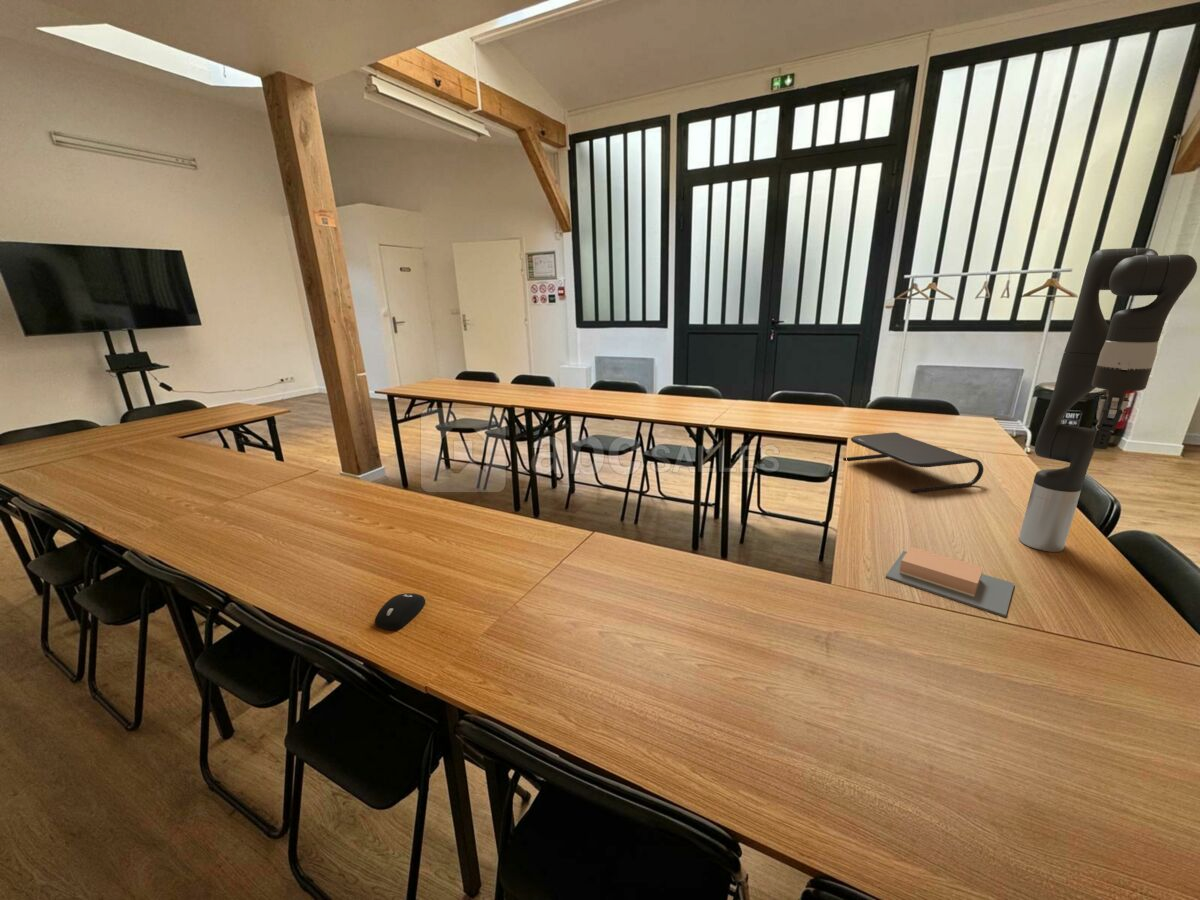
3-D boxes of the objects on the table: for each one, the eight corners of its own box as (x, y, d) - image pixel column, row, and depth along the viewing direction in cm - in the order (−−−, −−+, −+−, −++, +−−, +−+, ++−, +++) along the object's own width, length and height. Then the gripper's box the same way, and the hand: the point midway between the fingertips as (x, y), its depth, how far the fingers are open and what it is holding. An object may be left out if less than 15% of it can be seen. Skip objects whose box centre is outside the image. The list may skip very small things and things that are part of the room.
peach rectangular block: (980, 580, 114) (908, 558, 124) (983, 567, 113) (910, 546, 123) (974, 596, 108) (899, 572, 118) (977, 583, 107) (901, 560, 117)
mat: (903, 552, 128) (903, 550, 128) (1014, 585, 112) (1014, 583, 112) (885, 577, 117) (885, 575, 117) (1005, 617, 102) (1006, 615, 101)
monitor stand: (842, 460, 199) (845, 436, 196) (900, 455, 204) (904, 430, 201) (912, 494, 165) (918, 464, 161) (981, 486, 169) (987, 457, 166)
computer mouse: (433, 602, 114) (431, 587, 113) (398, 634, 103) (395, 618, 102) (408, 596, 116) (405, 582, 115) (371, 627, 106) (367, 612, 104)
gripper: (1096, 359, 101) (1074, 437, 106) (1097, 367, 92) (1073, 452, 97) (1149, 361, 96) (1123, 443, 101) (1156, 370, 87) (1127, 459, 92)
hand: (1099, 447), depth 99 cm, fingers closed
